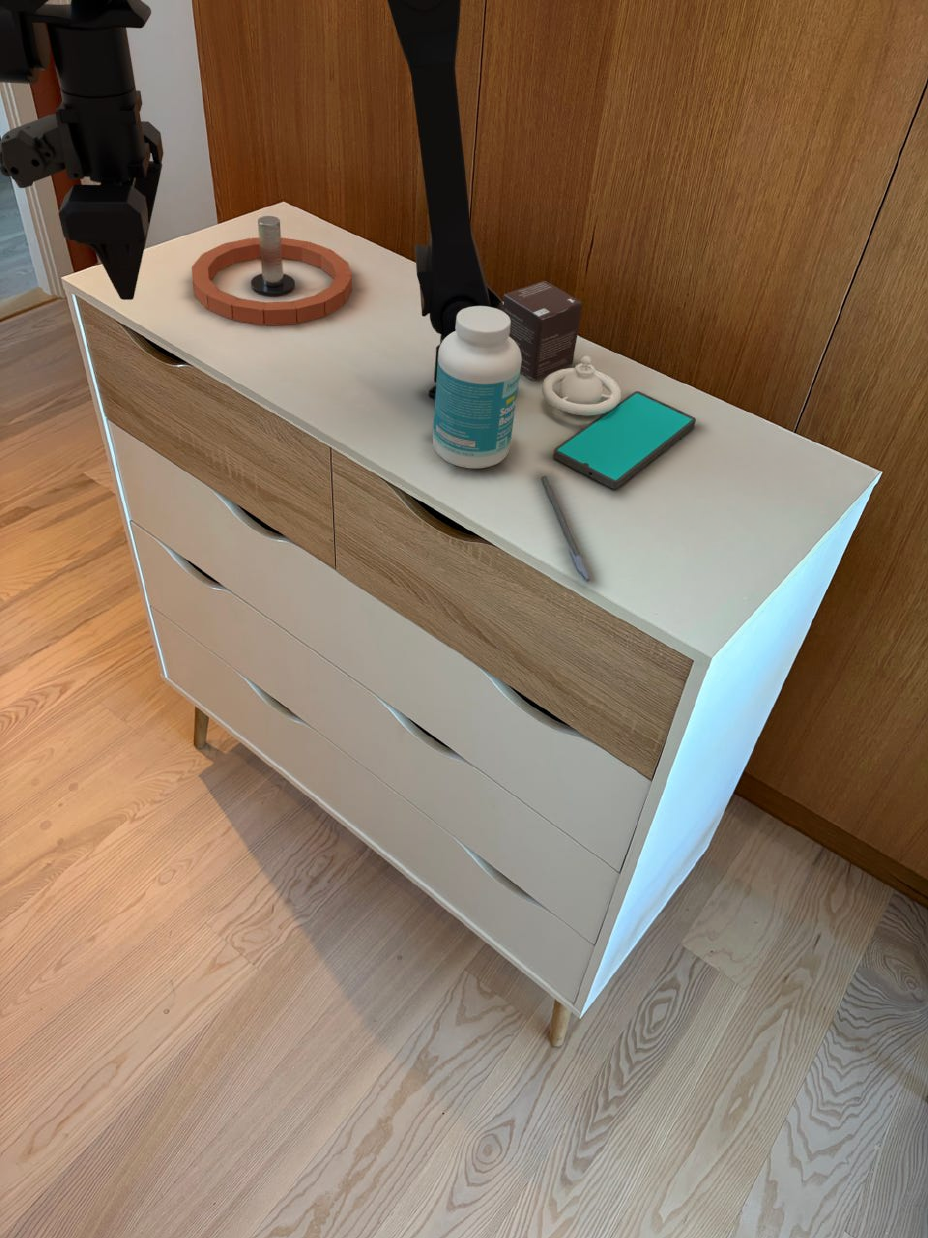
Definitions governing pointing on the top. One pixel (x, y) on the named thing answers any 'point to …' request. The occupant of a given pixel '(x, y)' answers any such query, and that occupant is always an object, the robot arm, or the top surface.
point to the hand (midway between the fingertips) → (132, 274)
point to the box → (543, 327)
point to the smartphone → (624, 439)
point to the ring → (271, 311)
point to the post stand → (271, 261)
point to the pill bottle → (476, 389)
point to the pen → (566, 530)
